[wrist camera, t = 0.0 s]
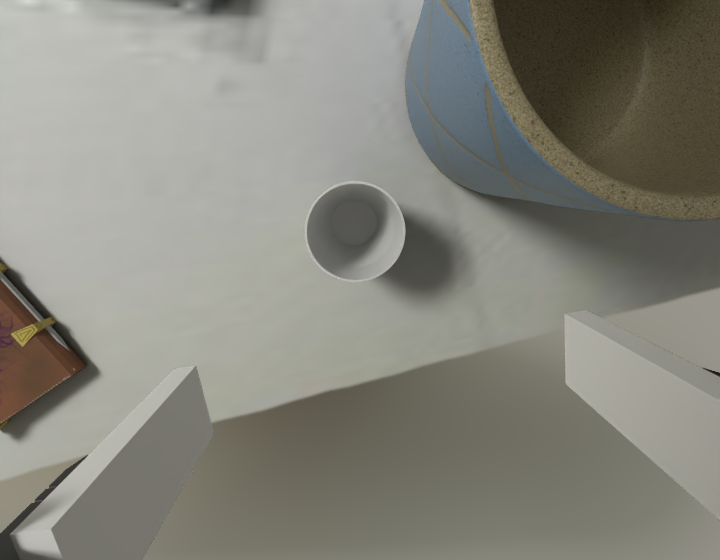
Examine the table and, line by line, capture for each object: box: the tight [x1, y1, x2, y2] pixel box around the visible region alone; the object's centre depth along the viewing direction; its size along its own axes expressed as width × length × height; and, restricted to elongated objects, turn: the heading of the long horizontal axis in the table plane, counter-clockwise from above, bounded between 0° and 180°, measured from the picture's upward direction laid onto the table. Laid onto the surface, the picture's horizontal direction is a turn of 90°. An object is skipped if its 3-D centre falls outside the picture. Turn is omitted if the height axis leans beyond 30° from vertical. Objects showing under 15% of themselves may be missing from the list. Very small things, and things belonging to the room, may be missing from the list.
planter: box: [405, 0, 720, 221], centre depth 26 cm, size 23×23×24 cm
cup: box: [304, 181, 405, 282], centre depth 35 cm, size 8×8×10 cm
